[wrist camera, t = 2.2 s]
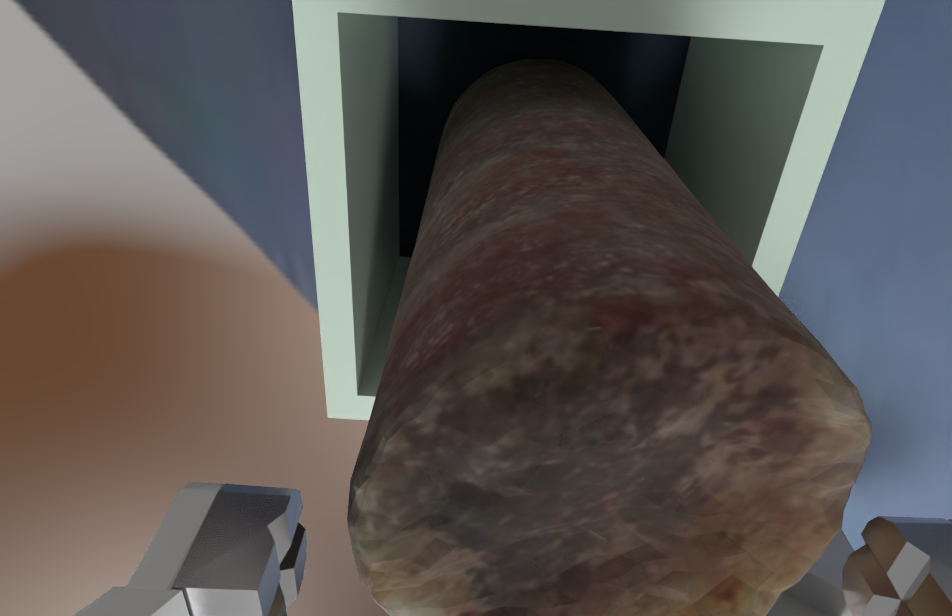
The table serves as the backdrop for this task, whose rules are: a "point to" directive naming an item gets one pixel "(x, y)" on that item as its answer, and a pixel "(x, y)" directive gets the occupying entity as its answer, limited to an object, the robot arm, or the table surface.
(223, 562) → the robot arm
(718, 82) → the mint green open box
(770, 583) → the wooden log
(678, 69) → the table surface
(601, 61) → the table surface
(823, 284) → the table surface
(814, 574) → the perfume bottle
